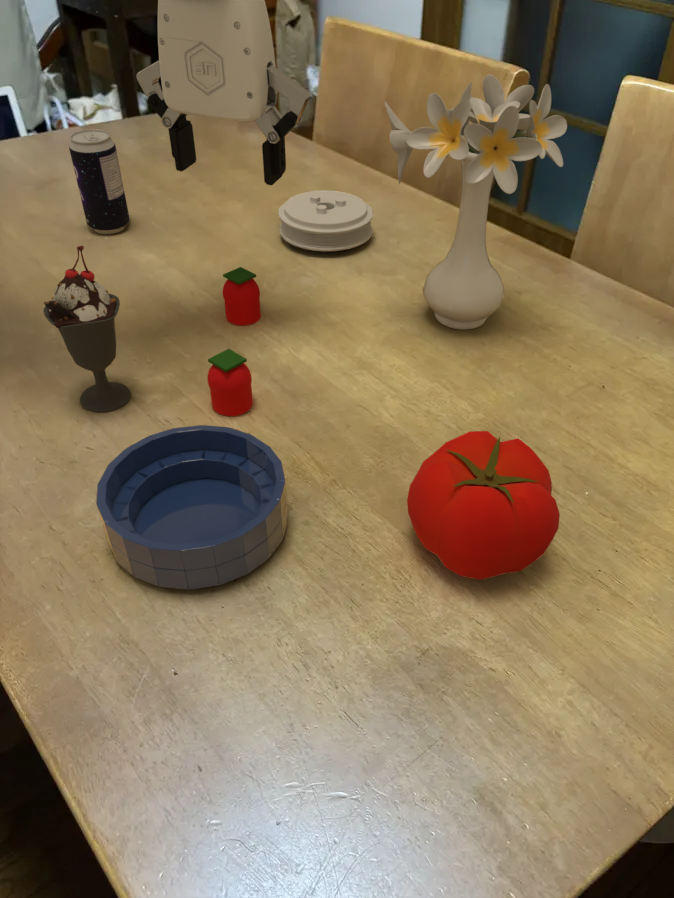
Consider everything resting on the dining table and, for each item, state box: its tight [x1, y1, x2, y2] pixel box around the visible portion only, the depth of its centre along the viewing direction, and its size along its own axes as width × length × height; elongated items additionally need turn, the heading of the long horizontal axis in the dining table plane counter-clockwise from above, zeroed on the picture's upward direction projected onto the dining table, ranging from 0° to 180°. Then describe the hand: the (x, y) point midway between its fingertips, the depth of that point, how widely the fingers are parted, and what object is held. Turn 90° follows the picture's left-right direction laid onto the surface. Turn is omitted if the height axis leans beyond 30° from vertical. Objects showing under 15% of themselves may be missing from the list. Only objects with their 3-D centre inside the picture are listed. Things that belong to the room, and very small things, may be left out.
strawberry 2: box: [207, 348, 254, 417], centre depth 73 cm, size 4×4×5 cm
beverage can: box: [68, 128, 131, 235], centre depth 99 cm, size 6×6×12 cm
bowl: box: [95, 424, 289, 591], centre depth 61 cm, size 14×14×5 cm
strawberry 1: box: [221, 266, 262, 327], centre depth 85 cm, size 4×4×5 cm
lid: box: [277, 189, 374, 252], centre depth 101 cm, size 13×13×5 cm
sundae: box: [43, 245, 132, 413], centre depth 70 cm, size 7×7×15 cm
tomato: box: [406, 430, 561, 581], centre depth 59 cm, size 11×12×9 cm
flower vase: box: [384, 74, 568, 331], centre depth 80 cm, size 13×18×25 cm
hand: (229, 173), depth 76 cm, fingers open, 9 cm apart
